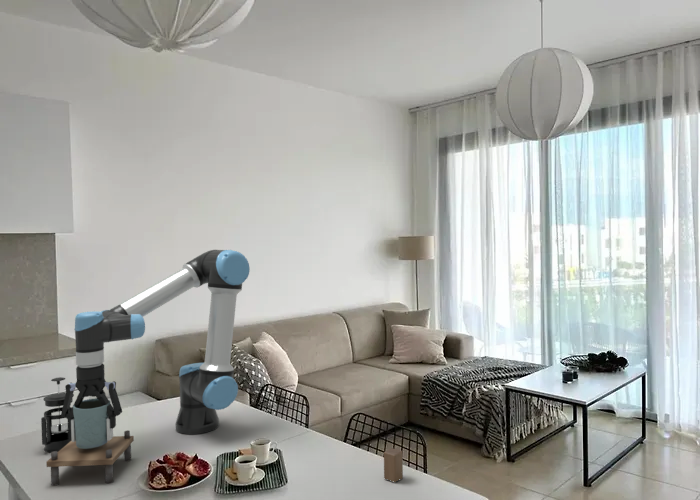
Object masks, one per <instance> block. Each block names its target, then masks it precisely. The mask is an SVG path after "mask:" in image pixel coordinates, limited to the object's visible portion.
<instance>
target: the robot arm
mask: <svg viewBox="0 0 700 500" xmlns="http://www.w3.org/2000/svg"><path fill="white" fill-rule="evenodd" d="M250 271H251V270H250V263H249V261H248V259H247V258H246V257H245V255H244V254H243V253H241V252H239V251H237V250H232V249H210V250H207V251H206V252H205V251H204V252H203V253H201V254H200V255H198V256H196V257H195V258H193V259H191V260H189V261H188V262H186V263H184V264H183V265H182V268H181V269H179V270H177V271H175V272H174V273H173V274H170V275H169V276H167V277H165V278H163V279H162V280H160V281H158V282H157V283H155V284H153V285H151V286H150V287H148V288H146V289H144V290H142V291H140V292H138V293H137V294H135V295H134V296H132V297H130V298H128V299H126V300H124V301H123V302H121V303H119V304H118V305H116V306H114V307H113V308H110V309H105V310H101V311H95V310H94V311H85V312H83V311H82V312H79V313H77V314H76V315H75V319H74V338H75V365H76V368H75V371H76V373H75V374H76V375H75V376H76V378H75V379H76V381H75V383H74V382H69V383H67V384H66V385H65V393H66V395H65V399H64V404H63V406H62V407H63V408H62V411H60V415H61V417H62V419H67V423H68V429H69V430H71V437H72V442H75V441H76V433H75V422H74V414H73V406H72V409H71V411H70V413H69V409H70V407H71V404H72V403H71V401H72V397H74V396H73V394H74V393H75V391H74V390H78V394H77V396H76V399H75V401H74V403H73V405H75V407H76V408H79V407H80V405H81V403H82V401H83V400H85V399H84V398H88V397H96V398H97V399H99V401H100V403H101V404H102V406H104V405H107V404H108V403H109V400H110V405H109V406H107V414H108V416H109V417H108V418H107V419H106V421H107V441H110V440H111V439H112V438H113V436H114V429H115V428H116V425H117V423H116V422H117V421H116V419H117V418H116V417H118V416H119V415H121V414H122V413H123V409H122V408H123V407H122V406H121V403H120V402H121V401H120V399H119V395H118V393H117V389H116V387H117V382H116V380H115V381H114V380H113V381H106V379H105V377H106V376H105V375H106V374H105V364H104V362H105V351H104V350H105V347H104V345H105V344H104V343H110V342H119V341H127V340H134V339H135V340H136V339H139V338H142V337H143V336H144V335H145V333H146V324H145V323H146V322H145V319H144V317H145V316H146V315H148V314H150V313H152V312H154V311H155V310H157V309H159V308H161V307H163V306H164V305H166V304H167V303H169V302H170V301H172V300H174V299H175V298H177V297H179V296H180V295H182V294H184V293H186V292H187V291H189V290H191V289H192V288H195V289H196V288H200V287H201V286H203V285H206V284H207V288H208V290H209V291H210V292H211V296H210V306H209V317H208V326H207V333H206V335H207V336H206V344H205V345H206V346H205V356H204V362H195V363H190V364H189V363H188V364H185V365H182V366H181V367H180V369H179V375H178V378H179V403H180V405H179V406H180V407H179V411H178V413H177V418H176V421H175V431H176V432H177V433H180V434H183V435H198V434H205V433H209V432H212V431H214V430H216V429H217V428H218V427H219V426H220V421H219V420H220V419H219V416H218V413H217V411H219V410H220V411H221V410H224V409H227V408H228V407H230V406H231V404H233V402H234V401H235V400H236V398H237V396H238V393H239V385H238V383H237V382H236V380H235V378H234V372H235V371H234V370H235V368H234V366H233V365H232V364H231V357H232V347H233V346H232V345H233V335H234V327H235V318H236V317H235V316H236V306H237V297H238V296H237V295H238V294H239V293H240V292H241V291H242V289H243V288H242V287H243V283H245V281H246V280H248V277H249V275H250ZM105 387H106V389H107V390H108V395H109V398H110V399H108V396H107V395H106V392H105V390H104V388H105ZM72 402H73V401H72Z"/></svg>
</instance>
